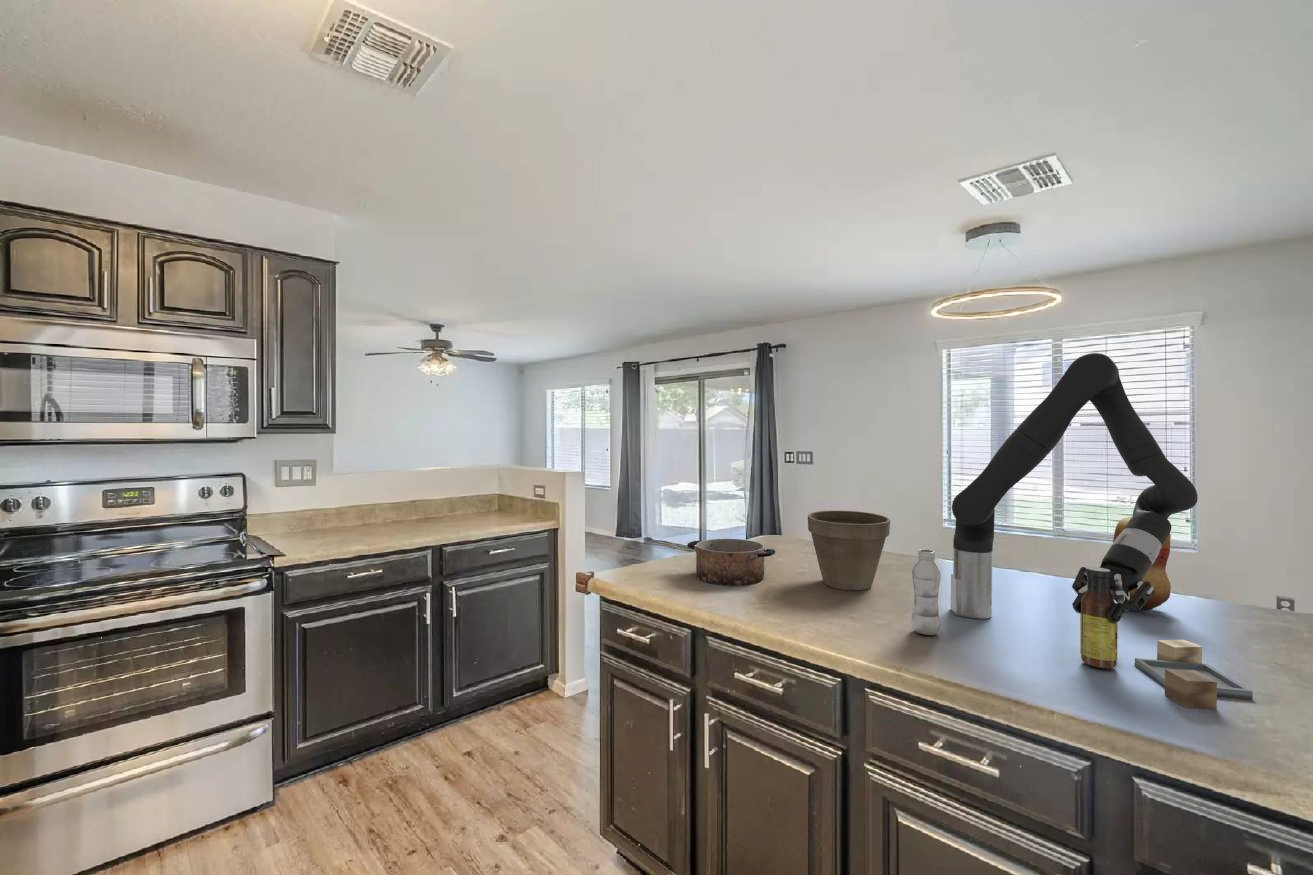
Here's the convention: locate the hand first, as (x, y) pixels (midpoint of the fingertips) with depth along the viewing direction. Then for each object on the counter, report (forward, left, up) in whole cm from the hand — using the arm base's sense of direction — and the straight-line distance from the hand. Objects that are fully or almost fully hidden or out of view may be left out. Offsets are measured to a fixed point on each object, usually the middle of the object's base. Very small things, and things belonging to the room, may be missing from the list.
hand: (1093, 615), depth 122 cm
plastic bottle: (-30, +13, -11) cm, 34 cm away
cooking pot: (-82, +54, -11) cm, 99 cm away
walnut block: (+10, -13, -11) cm, 20 cm away
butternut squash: (+30, +47, -11) cm, 57 cm away
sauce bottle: (+1, +1, -11) cm, 11 cm away
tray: (+15, -3, -11) cm, 19 cm away
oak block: (+19, +6, -11) cm, 22 cm away
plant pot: (-45, +54, -11) cm, 71 cm away
